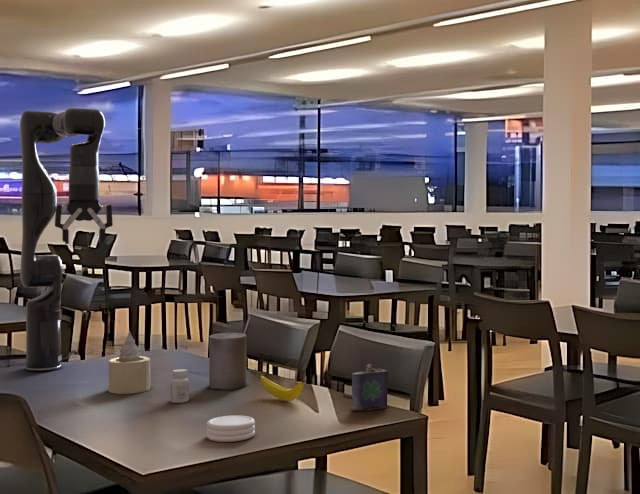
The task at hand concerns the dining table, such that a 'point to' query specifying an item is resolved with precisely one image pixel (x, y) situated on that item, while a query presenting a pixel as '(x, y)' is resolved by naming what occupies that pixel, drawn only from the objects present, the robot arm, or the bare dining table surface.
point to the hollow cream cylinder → (129, 376)
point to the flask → (369, 389)
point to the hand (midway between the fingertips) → (83, 243)
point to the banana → (282, 389)
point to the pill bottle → (179, 386)
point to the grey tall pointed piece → (129, 350)
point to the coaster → (230, 428)
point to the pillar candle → (227, 361)
